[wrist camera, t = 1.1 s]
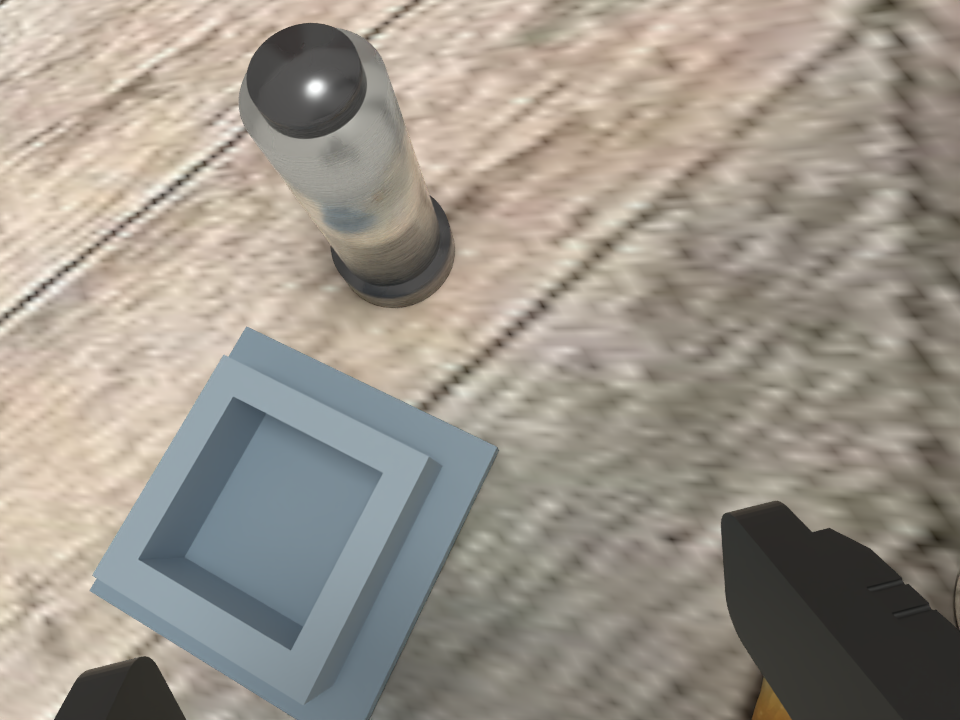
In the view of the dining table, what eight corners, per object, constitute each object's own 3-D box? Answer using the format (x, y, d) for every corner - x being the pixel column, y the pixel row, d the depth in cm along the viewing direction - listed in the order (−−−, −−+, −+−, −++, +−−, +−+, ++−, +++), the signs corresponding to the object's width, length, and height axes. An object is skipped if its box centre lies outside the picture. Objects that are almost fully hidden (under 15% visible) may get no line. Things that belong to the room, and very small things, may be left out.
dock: (256, 333, 29) (211, 301, 25) (498, 450, 26) (490, 434, 22) (106, 588, 26) (30, 597, 22) (357, 743, 24) (320, 782, 20)
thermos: (375, 186, 30) (272, -27, 19) (474, 226, 29) (428, 25, 18) (320, 280, 29) (177, 115, 18) (421, 325, 28) (336, 180, 17)
